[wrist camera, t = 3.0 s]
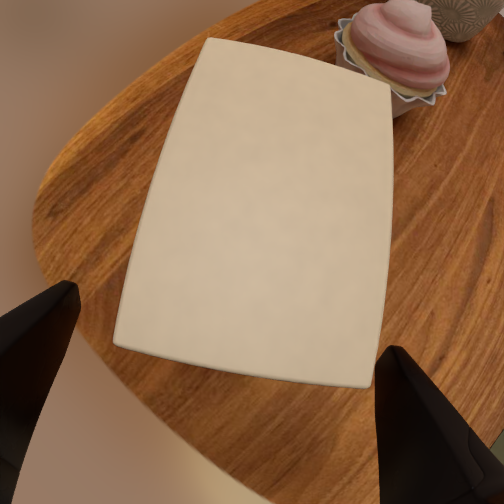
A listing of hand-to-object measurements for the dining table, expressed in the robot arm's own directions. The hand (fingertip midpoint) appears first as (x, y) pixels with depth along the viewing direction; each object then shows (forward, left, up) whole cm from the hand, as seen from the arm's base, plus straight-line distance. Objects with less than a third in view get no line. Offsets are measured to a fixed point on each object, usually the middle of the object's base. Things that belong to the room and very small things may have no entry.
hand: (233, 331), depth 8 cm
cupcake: (+20, +7, -10) cm, 23 cm away
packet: (+2, +2, -10) cm, 10 cm away
